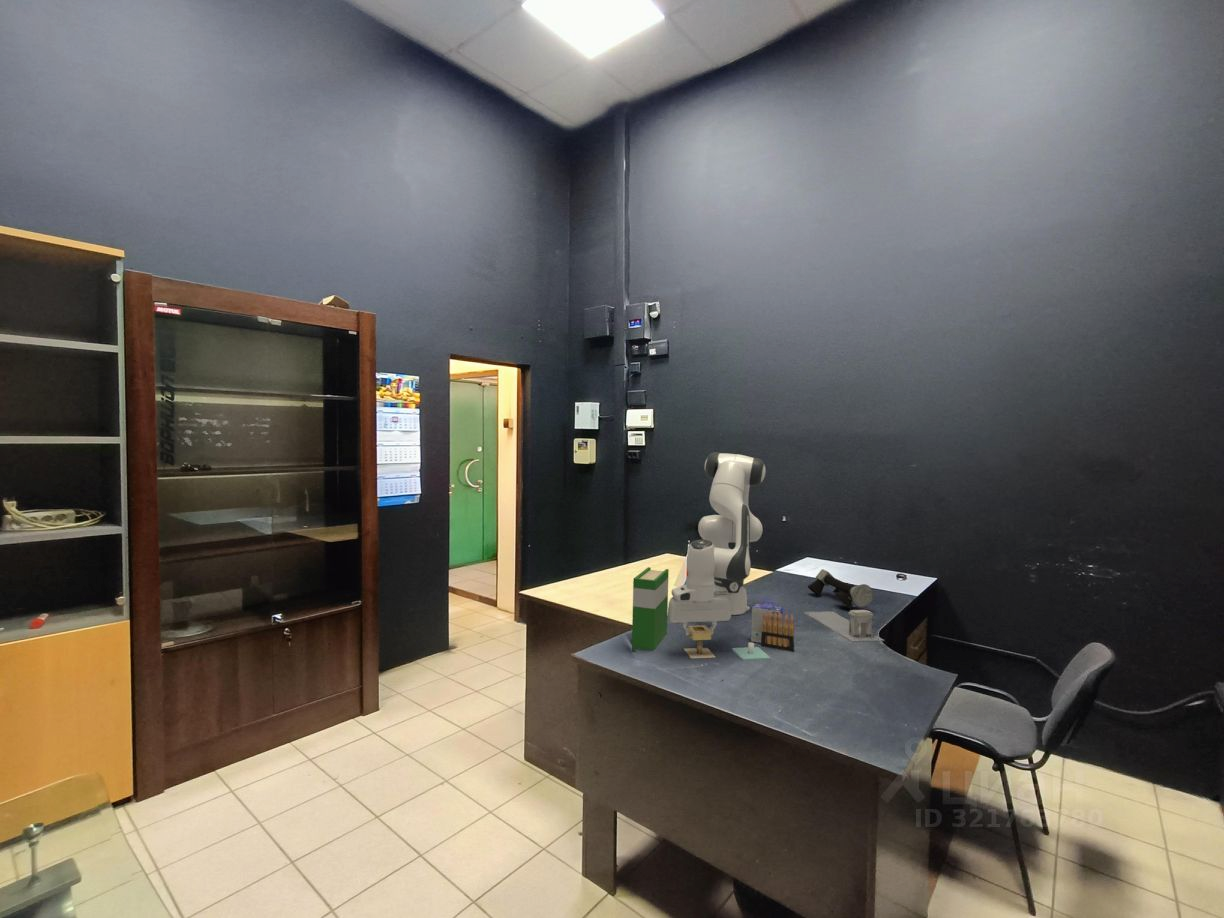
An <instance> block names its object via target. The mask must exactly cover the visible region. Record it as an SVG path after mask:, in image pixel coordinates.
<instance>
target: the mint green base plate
mask: <svg viewBox="0 0 1224 918" xmlns="http://www.w3.org/2000/svg"><path fill="white" fill-rule="evenodd" d="M731 651H733V653H734V654H736V655H737V656H738V657H739V658H740V659H741V660H742V661H743V662H745V661H746V662H747V661H764V660H766V661H767V660H769V661H771V657H770V656H769V655H768V654H767V653H766V652H765V651H764V650H762V649H761V648H760V647H758V646H755V642H753V641H751V642H748V643H747V647H731Z"/></svg>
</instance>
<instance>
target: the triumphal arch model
mask: <svg viewBox="0 0 1224 918" xmlns="http://www.w3.org/2000/svg"><path fill="white" fill-rule="evenodd" d="M803 613H804V614H805V615H806V616H808V617H810V618H812V619H813V620H815V621H817V622H818V623H819V624H821V625H823V626H825V627H827V629H830V630H831V631H833V632H834V633H836V634H838V635H840V636H841V637H842V638H845V639H846V640H847V641H849V642H851V643H863V642H862V641H872V642H885V639H883V638H881V637H879V636H878V635H876V636H875V637H874V638H872V639H871V638H870V637H871V633H872V617H874V614H873V612H872V611H870V610H867V609H852V610H851V609H849V611H848V612H847V614H848V615H849V620H848V619H846V618H845V617H843V616H842V615H839V614H838V613H836V612H835V611H831V610H830V611H828V610H827V611H804V612H803ZM878 638H879V640H878Z"/></svg>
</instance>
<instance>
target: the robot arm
mask: <svg viewBox="0 0 1224 918" xmlns="http://www.w3.org/2000/svg"><path fill="white" fill-rule="evenodd" d="M766 470H767V469H766V466H765V463H764V461H763V460H762V459H761V458H757V457H752V456H747V455H744V454H739V453H737V454H735V453H725V452H724V453H721V452H720V451H719V452H717V451H715V452H711V453H709V454H708V456H707V458H706V460H705V462H704V471H705V473H704V474H705V475H706V477H707V478H708V479H710V480H712V482H711V486H710V491H709V498H708V499H709V503H710V506H711V508H712V509H713V510H714V511H715V512H716V513H718V514H712V515H705V516H703V517H702V518H701V519H700V520H699V521H698V525H697V526H698V527H697V528H698V529H697V530H698V534H699V536H700V537H701V539H696V540H693V541H691V542H690V543H689V546H688V551H687V556H686V557H687V558H686V559H687V560H686V571H687V578H686V583H685V584H683V585H680V586H677V587H674V588H672V589H671V595H672V597H670V598H669V599H670V600H669V601H668V610H667V620H669V621H670V622H671V623H673V624H676V623H681V625H682V627H683V629H684V635H685V636H689V635H691V630H690V629H687V626H689V625H688V624H689V623H702V622H704V623H705V622H710V623H711V624H710V626H709V627H707V628H708V629H709V630H710V631H711V636H713V635H714V629H715V628H716V627H717V625H718V622H725V621H726V622H727V621H730V619H731V618H732V616H737V615H743V614H745V613H747V611H750V609H751V607H750V606H749V605H748V599H747V597H748V596H747V590H746V588H744V583H745V579H747V578H748V577H749V576H750V572H751V568H752V567H751V555H750V554H751V552H750V551H751V550H750V544H751V543H753V542H758V540H760V539H761V537H762V534H763V524H762V522H761V521H760V519H759V518H758V517H756V516H755V515H754V514H753V513H752V512H751V510H750V507H749V497H750V496H749V493H750V487H758V486H759V485H761V484H762V482H763V481H764V479H765V477H766ZM729 543H735V546H734V548H730V547H729ZM689 637H690V636H689Z"/></svg>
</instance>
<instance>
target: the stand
mask: <svg viewBox="0 0 1224 918" xmlns="http://www.w3.org/2000/svg"><path fill="white" fill-rule="evenodd" d="M703 641H704V640H696V647H693V648H690V647H689V648H683V650H684V651H685V653H687V655H688V657H689V658H690V659H708V658H709V659H711V658H716V656H715V654H714V653H713V652H712V651H711V650H710V649H709V648H708V647H704V646H703Z"/></svg>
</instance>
